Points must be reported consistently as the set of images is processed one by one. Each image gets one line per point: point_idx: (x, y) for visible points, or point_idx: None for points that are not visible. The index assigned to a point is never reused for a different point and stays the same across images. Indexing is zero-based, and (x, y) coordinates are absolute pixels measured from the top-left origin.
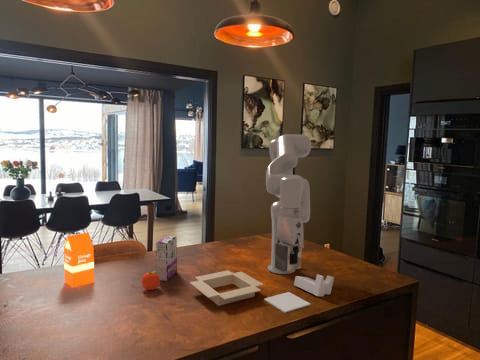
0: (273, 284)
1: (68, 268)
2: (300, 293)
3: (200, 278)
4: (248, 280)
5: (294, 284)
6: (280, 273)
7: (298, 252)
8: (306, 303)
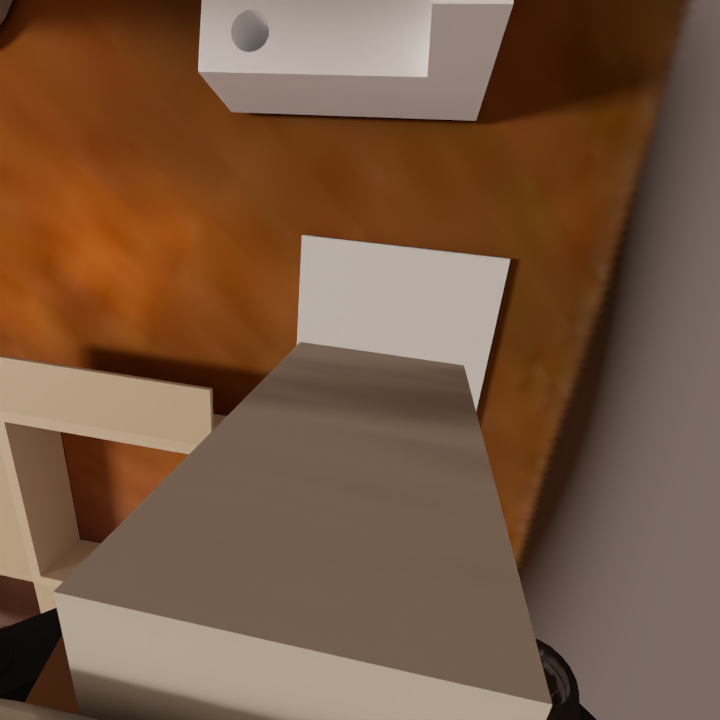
0: (148, 213)
1: None
2: (349, 169)
3: (12, 565)
4: (122, 417)
5: (235, 109)
6: (3, 16)
7: (559, 669)
8: (489, 276)
